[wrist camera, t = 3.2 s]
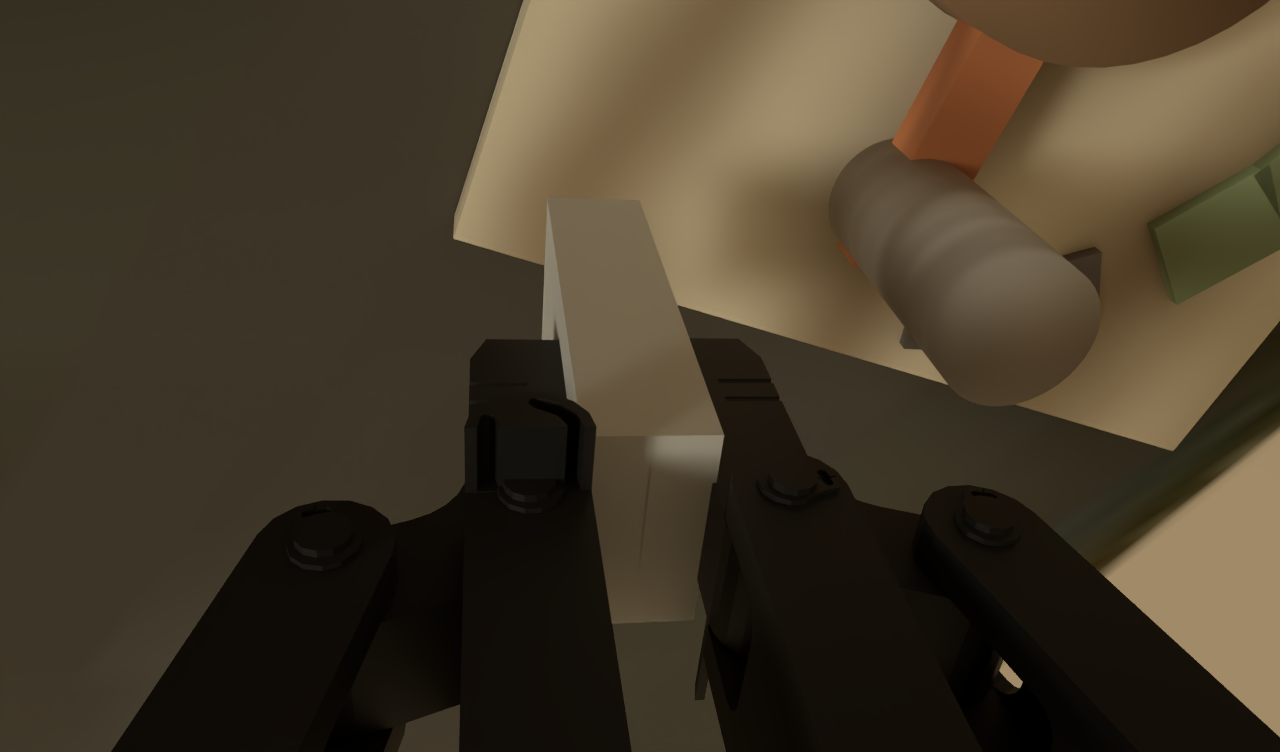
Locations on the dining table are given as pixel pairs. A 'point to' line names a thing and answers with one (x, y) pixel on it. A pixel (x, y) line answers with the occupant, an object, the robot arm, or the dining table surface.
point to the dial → (970, 217)
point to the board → (872, 112)
